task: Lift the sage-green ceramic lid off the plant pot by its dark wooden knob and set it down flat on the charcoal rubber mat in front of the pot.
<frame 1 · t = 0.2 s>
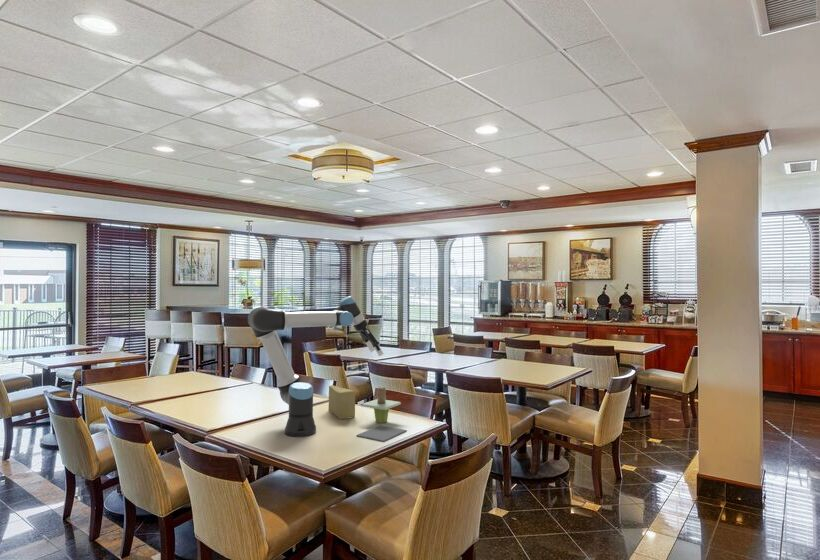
hand: (377, 352, 268), 35 cm above the table, fingers open, 13 cm apart
cheese: (338, 414, 268), on the table
mat: (382, 433, 232), on the table
plant pot: (381, 421, 254), on the table, touching lid
lid: (381, 405, 254), point 9 cm above the table, touching plant pot
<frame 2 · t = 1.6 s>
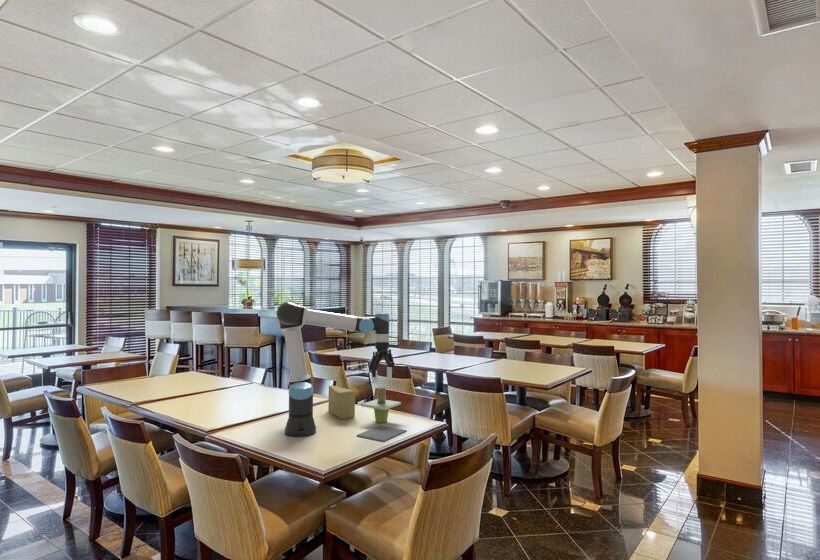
hand: (382, 381, 255), 22 cm above the table, fingers open, 13 cm apart
nothing on the table moved.
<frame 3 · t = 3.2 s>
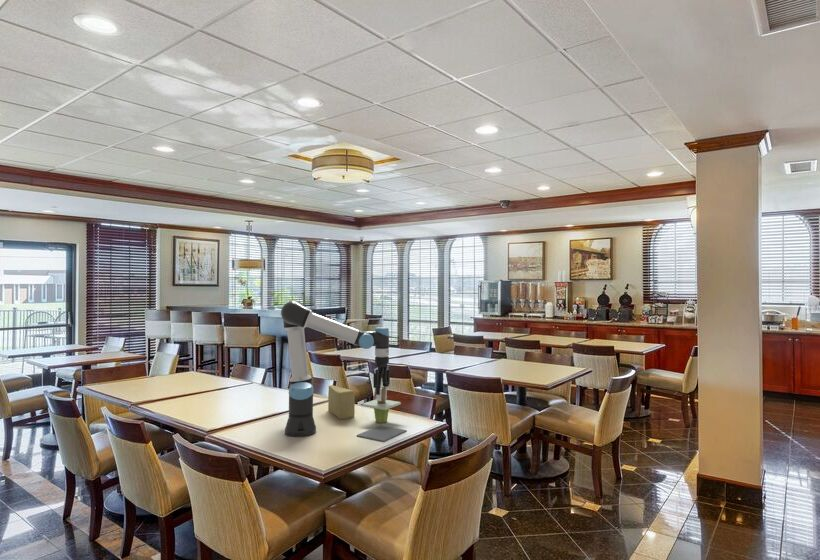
hand: (381, 399, 254), 12 cm above the table, fingers closed on lid, 4 cm apart
lid: (381, 405, 254), point 9 cm above the table, touching gripper, plant pot
everything else where it was.
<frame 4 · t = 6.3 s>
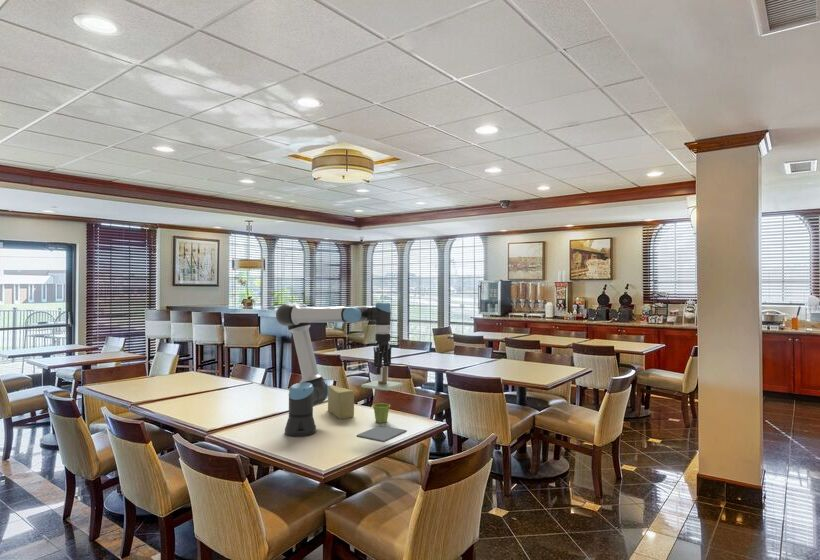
hand: (382, 380, 235), 26 cm above the table, fingers closed on lid, 4 cm apart
plant pot: (381, 421, 254), on the table
lid: (382, 386, 235), point 23 cm above the table, touching gripper
everything else where it was.
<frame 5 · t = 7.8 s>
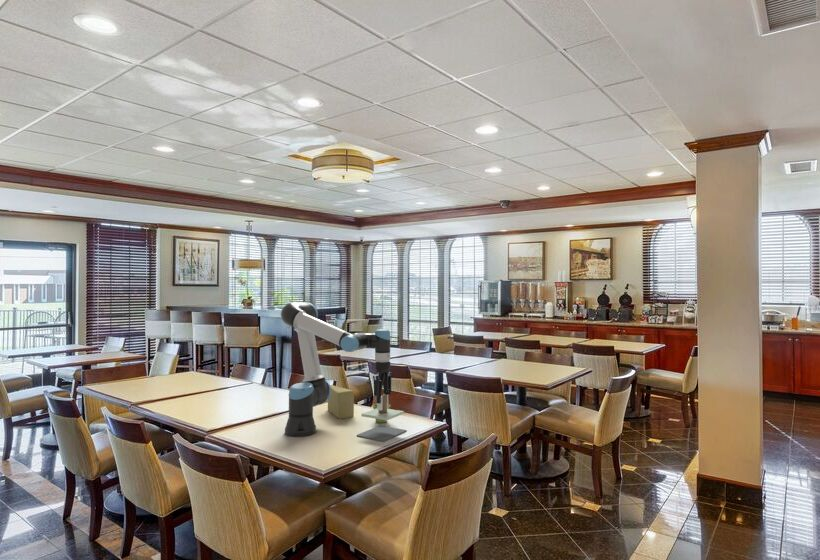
hand: (382, 408, 232), 12 cm above the table, fingers closed on lid, 4 cm apart
lid: (382, 414, 232), point 9 cm above the table, touching gripper
when the fingers open (5 cm above the table, at t = 9.3 s): lid drops 1 cm, resting on mat.
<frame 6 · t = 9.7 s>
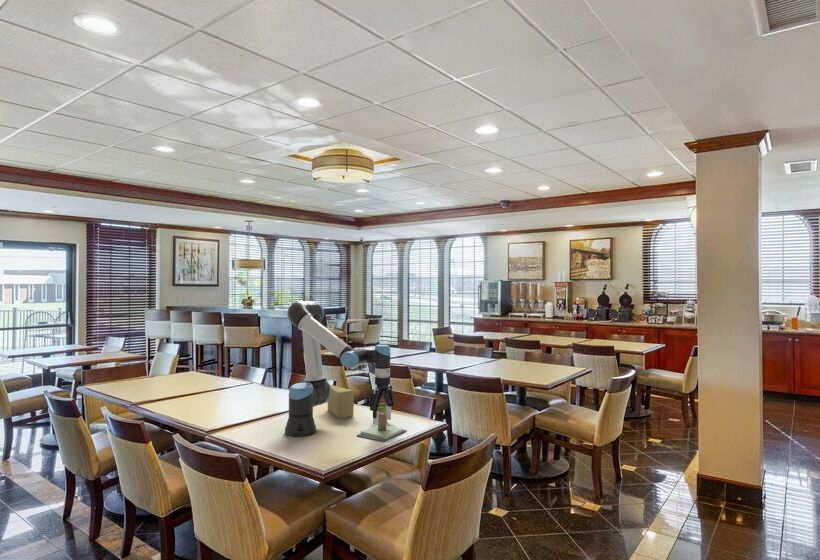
hand: (382, 421, 232), 6 cm above the table, fingers open, 10 cm apart
lid: (382, 432, 232), point 1 cm above the table, touching mat
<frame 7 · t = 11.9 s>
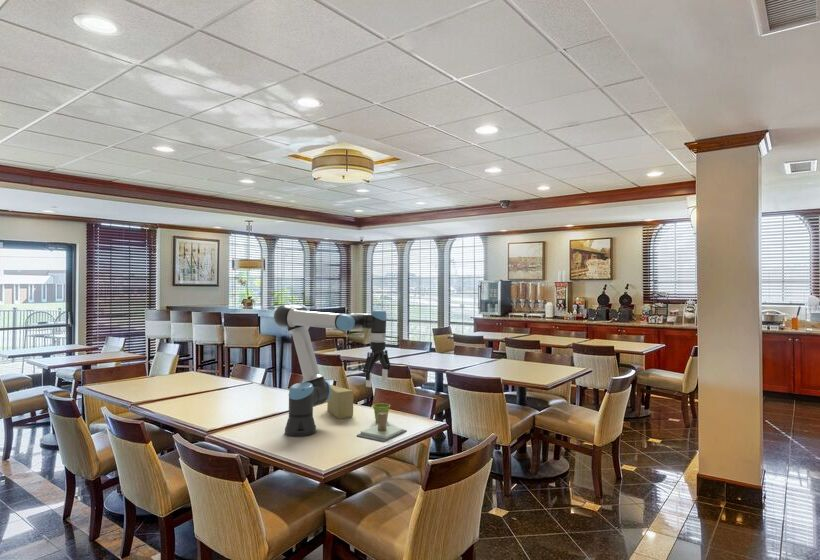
hand: (376, 384, 233), 24 cm above the table, fingers open, 13 cm apart
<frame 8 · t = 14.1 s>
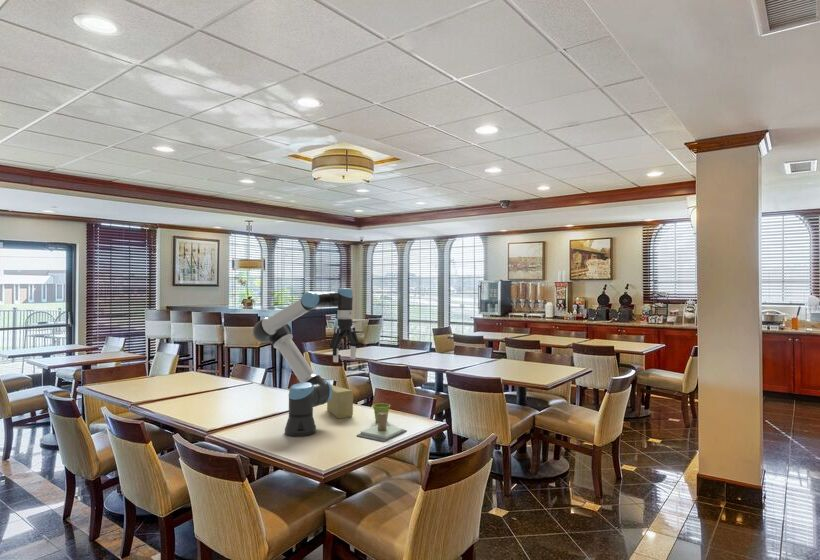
hand: (344, 360, 239), 35 cm above the table, fingers open, 13 cm apart
at the end: lid inside the target area on the mat (0.0 cm from its centre), point 0.6 cm above the mat's base; lid tilted 0°; lid touching mat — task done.
